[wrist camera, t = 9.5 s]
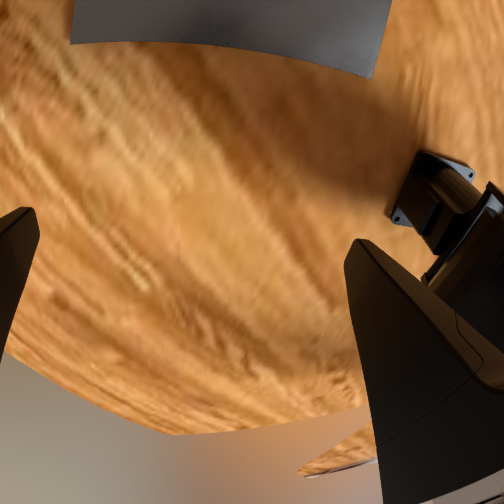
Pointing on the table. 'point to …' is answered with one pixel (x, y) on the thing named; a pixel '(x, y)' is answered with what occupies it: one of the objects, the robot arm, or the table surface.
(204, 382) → the table surface
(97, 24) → the stand base
